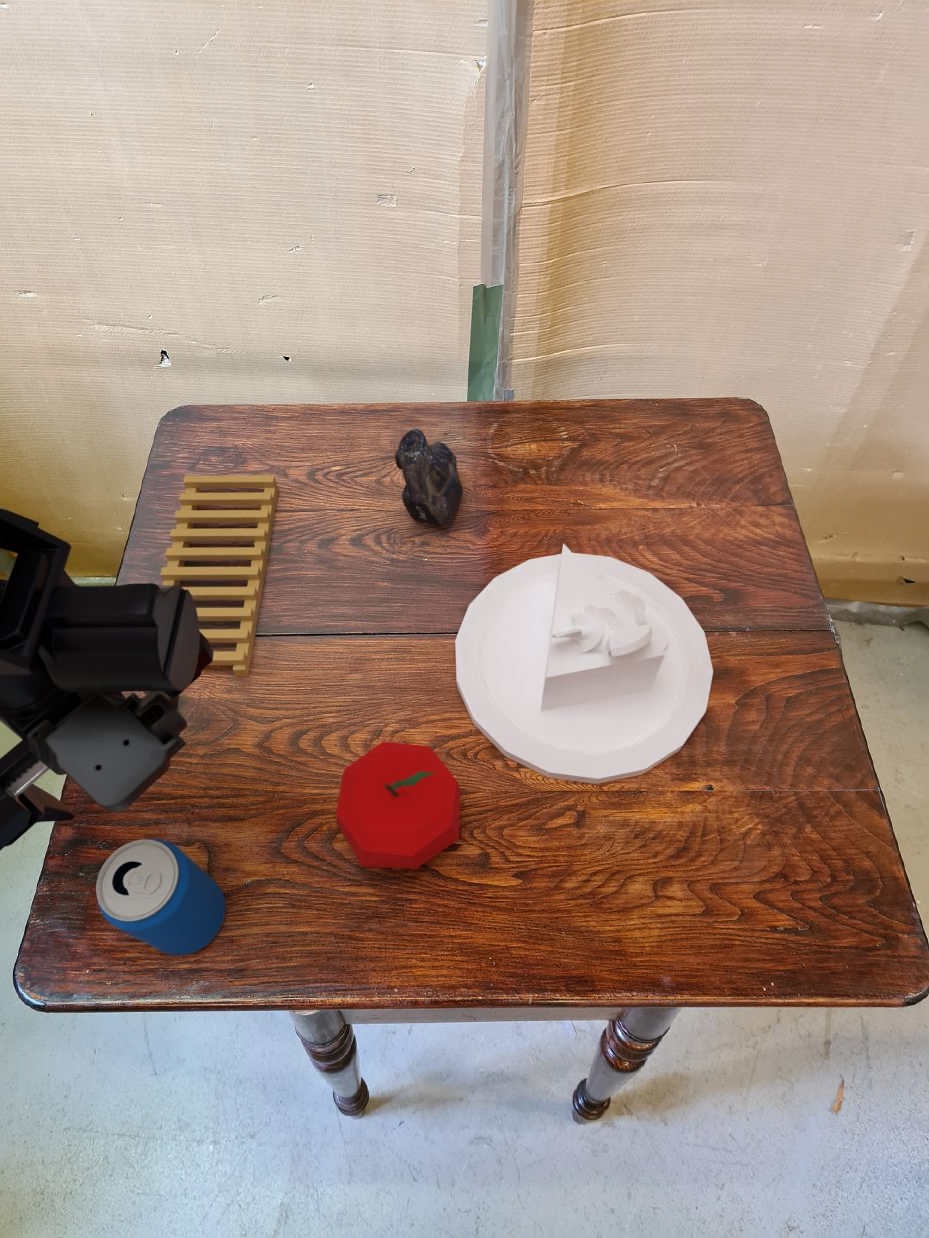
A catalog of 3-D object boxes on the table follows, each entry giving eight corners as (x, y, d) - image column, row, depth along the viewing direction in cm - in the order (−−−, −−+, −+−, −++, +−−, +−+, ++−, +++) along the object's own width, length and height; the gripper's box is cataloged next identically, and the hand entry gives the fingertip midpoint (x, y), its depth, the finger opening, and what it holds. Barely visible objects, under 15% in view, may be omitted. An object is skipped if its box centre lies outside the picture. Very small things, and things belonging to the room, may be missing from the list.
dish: (749, 752, 73) (791, 697, 64) (484, 807, 70) (486, 758, 61) (660, 543, 86) (684, 472, 76) (433, 583, 83) (428, 514, 74)
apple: (356, 900, 66) (339, 868, 58) (332, 783, 72) (313, 739, 63) (478, 864, 68) (479, 828, 59) (445, 752, 73) (441, 705, 65)
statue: (476, 477, 91) (476, 374, 78) (441, 557, 85) (435, 460, 72) (430, 466, 92) (423, 362, 79) (392, 544, 86) (378, 445, 73)
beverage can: (167, 868, 68) (114, 825, 58) (239, 884, 67) (197, 843, 57) (136, 947, 64) (73, 916, 54) (211, 965, 64) (161, 936, 54)
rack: (248, 677, 78) (242, 664, 75) (146, 677, 78) (137, 665, 76) (278, 490, 90) (274, 474, 88) (191, 490, 90) (184, 475, 88)
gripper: (-49, 887, 39) (84, 944, 52) (237, 633, 46) (289, 739, 60) (-164, 752, 43) (-13, 838, 56) (118, 537, 50) (192, 658, 63)
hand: (122, 766), depth 59 cm, fingers open, 9 cm apart
